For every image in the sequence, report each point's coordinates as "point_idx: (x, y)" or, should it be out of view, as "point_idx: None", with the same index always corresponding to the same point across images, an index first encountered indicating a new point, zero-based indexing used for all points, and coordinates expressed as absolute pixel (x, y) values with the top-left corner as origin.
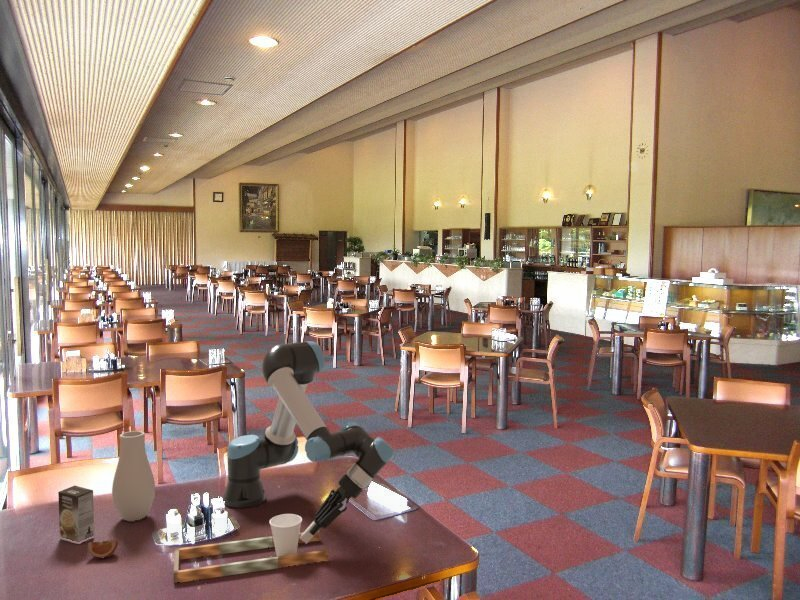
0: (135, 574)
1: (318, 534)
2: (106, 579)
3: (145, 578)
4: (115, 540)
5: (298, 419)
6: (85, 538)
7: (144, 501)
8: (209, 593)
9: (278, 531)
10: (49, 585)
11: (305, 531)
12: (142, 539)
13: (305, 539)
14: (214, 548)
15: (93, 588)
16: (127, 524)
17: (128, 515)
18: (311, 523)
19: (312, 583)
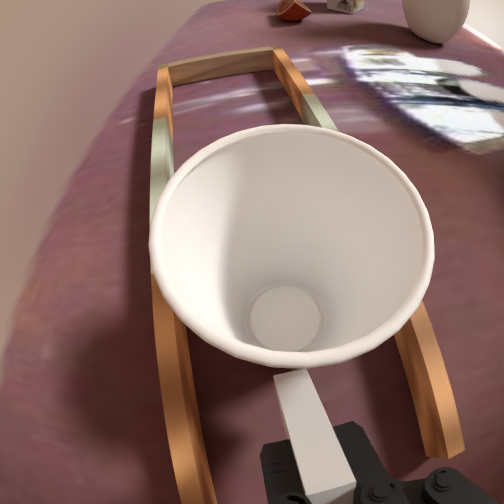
0: (220, 44)
1: (440, 453)
2: (212, 31)
3: (200, 54)
4: (295, 2)
5: None
6: (337, 6)
7: (423, 8)
8: (91, 144)
9: (190, 202)
10: (212, 12)
11: (303, 407)
12: (359, 37)
13: (280, 410)
14: (297, 94)
15: (188, 31)
16: (405, 32)
17: (406, 18)
18: (340, 456)
19: (35, 414)
